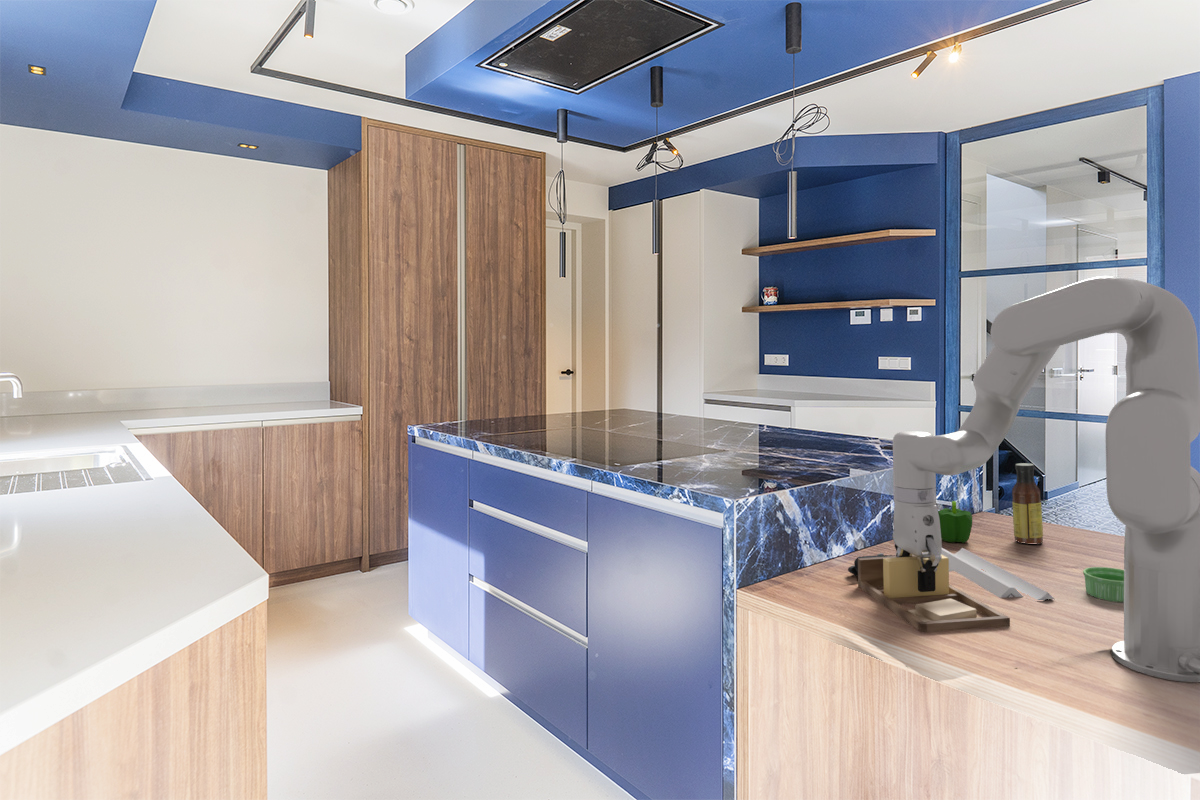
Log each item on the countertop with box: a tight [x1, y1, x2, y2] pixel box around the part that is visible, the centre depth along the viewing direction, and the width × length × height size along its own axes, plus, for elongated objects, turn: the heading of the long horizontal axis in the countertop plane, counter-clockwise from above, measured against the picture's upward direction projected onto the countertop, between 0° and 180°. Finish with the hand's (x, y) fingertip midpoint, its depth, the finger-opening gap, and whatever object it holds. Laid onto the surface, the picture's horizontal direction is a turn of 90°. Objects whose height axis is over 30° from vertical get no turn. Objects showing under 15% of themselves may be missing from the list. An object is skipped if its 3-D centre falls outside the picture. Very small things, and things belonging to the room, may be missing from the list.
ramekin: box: [1082, 566, 1124, 603], centre depth 133 cm, size 9×9×4 cm
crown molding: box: [922, 547, 1055, 601], centre depth 147 cm, size 31×12×4 cm, turn 0°
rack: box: [857, 554, 1011, 633], centre depth 129 cm, size 24×16×7 cm, turn 4°
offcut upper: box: [915, 598, 978, 621], centre depth 123 cm, size 6×8×2 cm
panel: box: [883, 555, 950, 598], centre depth 133 cm, size 2×12×9 cm, turn 94°
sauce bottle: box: [1011, 462, 1044, 544], centre depth 170 cm, size 7×6×20 cm
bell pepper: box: [938, 500, 973, 543], centre depth 174 cm, size 8×8×10 cm
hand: (916, 583), depth 133 cm, fingers open, 6 cm apart
